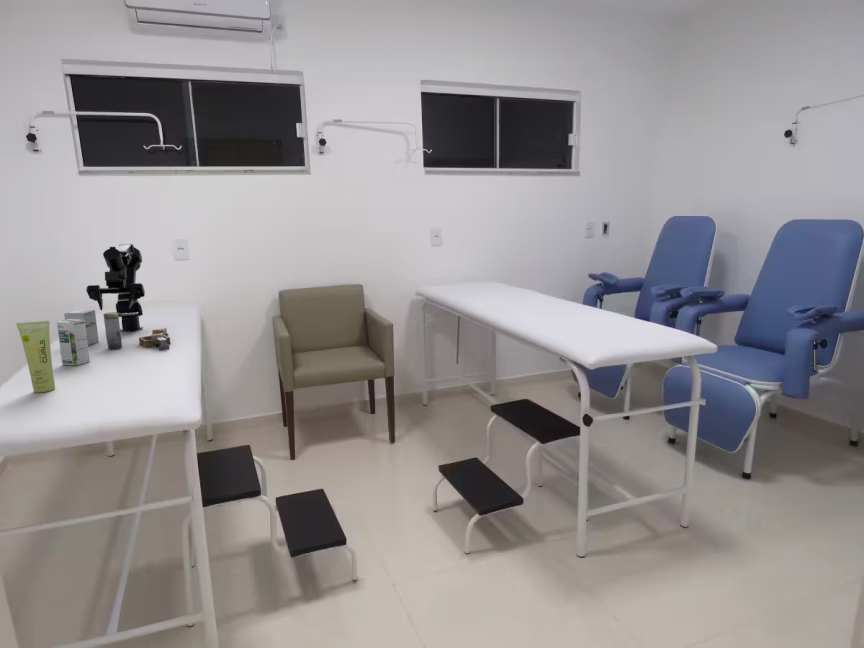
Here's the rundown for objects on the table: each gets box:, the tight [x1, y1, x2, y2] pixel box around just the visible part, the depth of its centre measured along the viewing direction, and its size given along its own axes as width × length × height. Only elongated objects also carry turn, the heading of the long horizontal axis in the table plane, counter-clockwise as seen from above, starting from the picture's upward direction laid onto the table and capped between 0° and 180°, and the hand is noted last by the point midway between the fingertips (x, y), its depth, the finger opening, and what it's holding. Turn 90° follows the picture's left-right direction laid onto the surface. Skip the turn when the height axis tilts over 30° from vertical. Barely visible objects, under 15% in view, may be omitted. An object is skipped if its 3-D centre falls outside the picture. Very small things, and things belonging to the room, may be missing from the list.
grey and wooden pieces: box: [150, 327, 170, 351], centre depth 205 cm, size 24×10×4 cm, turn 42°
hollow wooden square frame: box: [138, 334, 171, 348], centre depth 203 cm, size 9×9×2 cm
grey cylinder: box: [103, 311, 123, 351], centre depth 196 cm, size 5×5×13 cm
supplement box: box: [63, 309, 100, 346], centre depth 203 cm, size 7×7×13 cm
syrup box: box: [56, 319, 91, 367], centre depth 176 cm, size 6×6×14 cm
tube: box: [15, 320, 56, 393], centre depth 148 cm, size 6×5×20 cm
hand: (115, 308), depth 202 cm, fingers open, 9 cm apart
